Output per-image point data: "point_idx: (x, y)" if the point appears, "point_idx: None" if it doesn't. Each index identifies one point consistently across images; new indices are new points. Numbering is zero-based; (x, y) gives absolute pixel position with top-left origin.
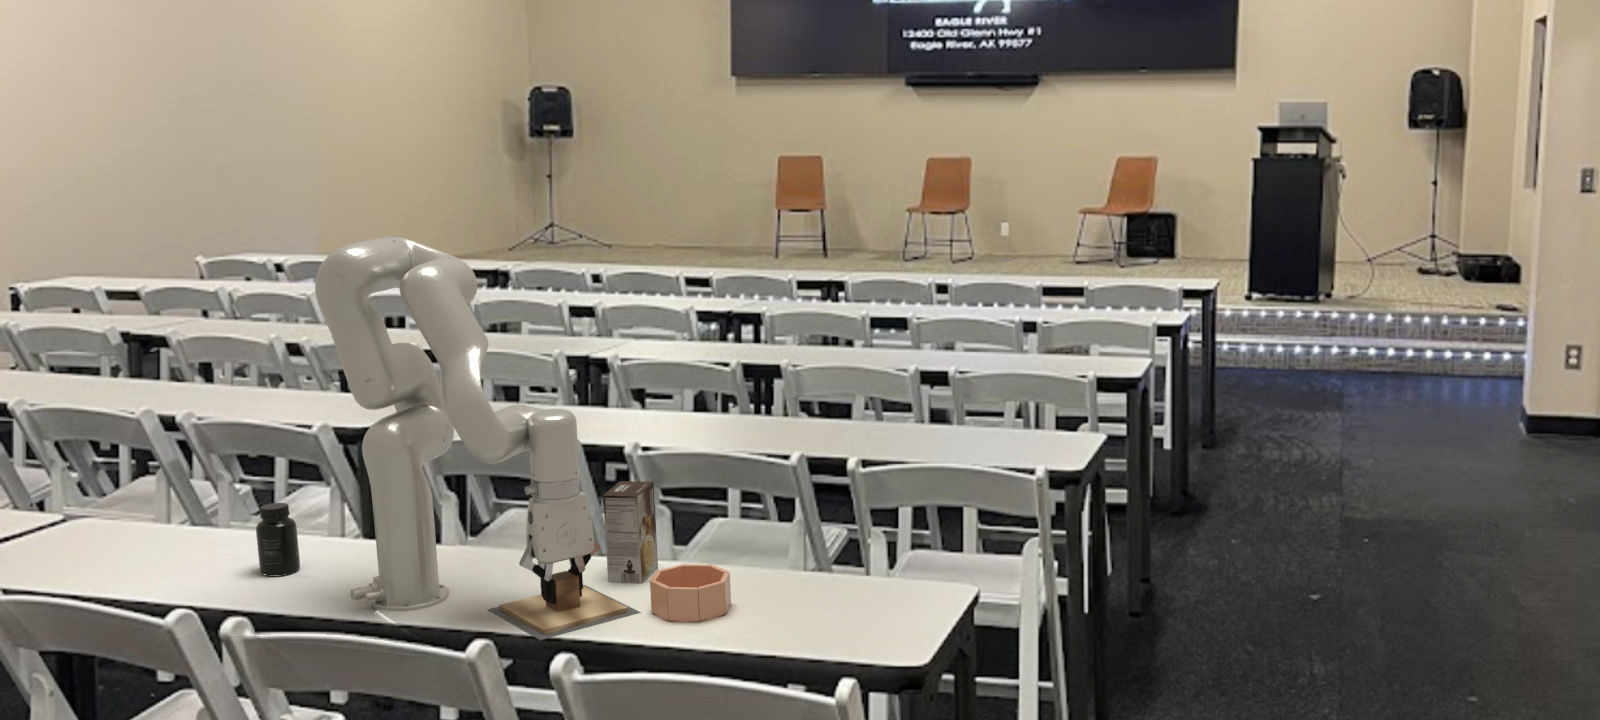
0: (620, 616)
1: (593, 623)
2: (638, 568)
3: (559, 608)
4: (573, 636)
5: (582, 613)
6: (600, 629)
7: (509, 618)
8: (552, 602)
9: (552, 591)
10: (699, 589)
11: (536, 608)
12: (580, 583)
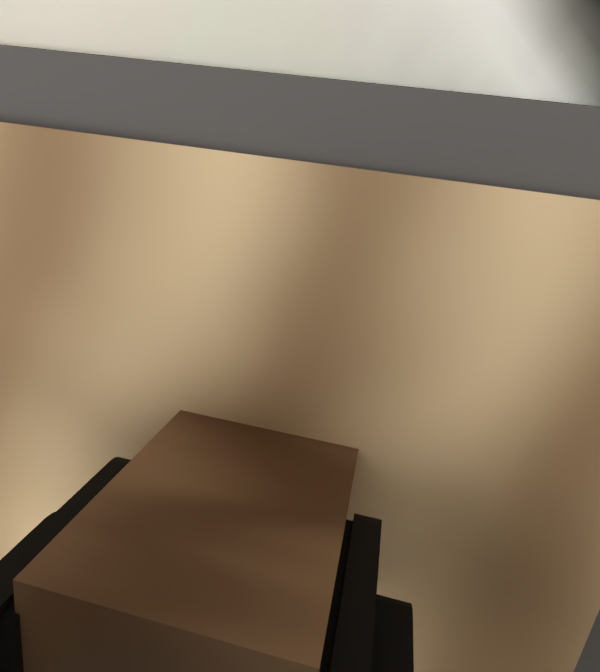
0: (51, 81)
1: (276, 113)
2: None
3: (343, 460)
4: (521, 67)
5: (253, 284)
6: (274, 34)
7: (588, 661)
8: (380, 528)
9: (371, 604)
10: None
11: None
12: (51, 527)
